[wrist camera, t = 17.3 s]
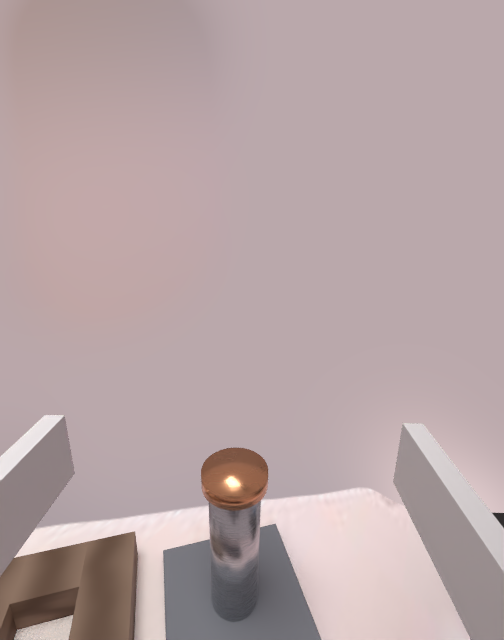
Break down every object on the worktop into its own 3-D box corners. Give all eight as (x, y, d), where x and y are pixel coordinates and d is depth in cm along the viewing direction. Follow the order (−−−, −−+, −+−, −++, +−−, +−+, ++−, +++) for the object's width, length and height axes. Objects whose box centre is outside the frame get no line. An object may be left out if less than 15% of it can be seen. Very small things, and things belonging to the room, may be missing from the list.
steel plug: (254, 560, 39) (256, 443, 34) (271, 617, 34) (277, 487, 29) (201, 575, 37) (196, 453, 33) (211, 637, 32) (207, 503, 27)
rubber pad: (275, 528, 44) (275, 523, 44) (325, 658, 31) (326, 653, 31) (163, 555, 40) (163, 550, 40) (168, 715, 28) (168, 709, 27)
